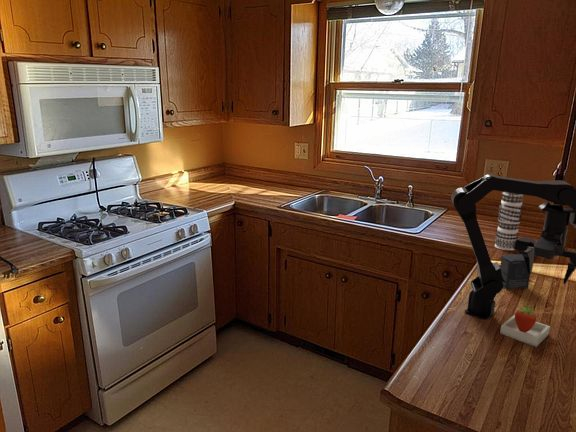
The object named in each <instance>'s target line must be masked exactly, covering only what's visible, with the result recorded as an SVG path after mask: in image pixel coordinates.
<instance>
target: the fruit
mask: <svg viewBox="0 0 576 432" xmlns="http://www.w3.org/2000/svg"><path fill="white" fill-rule="evenodd" d="M517 308H518V309H517V310H516V311H515V314H514V315H515V321H516V324H517V327H518V329H519V330H520V331H521V332H527V331H529V330H530V329H531V328H532V327H533V326H534V324H535V322H537V316H536V314H535V312H537V310H533V308H534V307H533V306H530V307H529V305H526V304H524V307H520V306H519V305H518V307H517Z"/></svg>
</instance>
